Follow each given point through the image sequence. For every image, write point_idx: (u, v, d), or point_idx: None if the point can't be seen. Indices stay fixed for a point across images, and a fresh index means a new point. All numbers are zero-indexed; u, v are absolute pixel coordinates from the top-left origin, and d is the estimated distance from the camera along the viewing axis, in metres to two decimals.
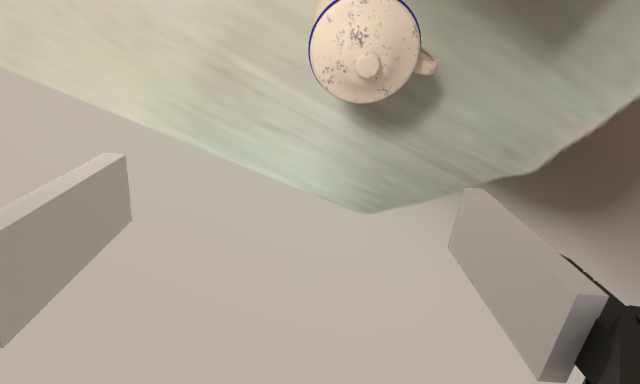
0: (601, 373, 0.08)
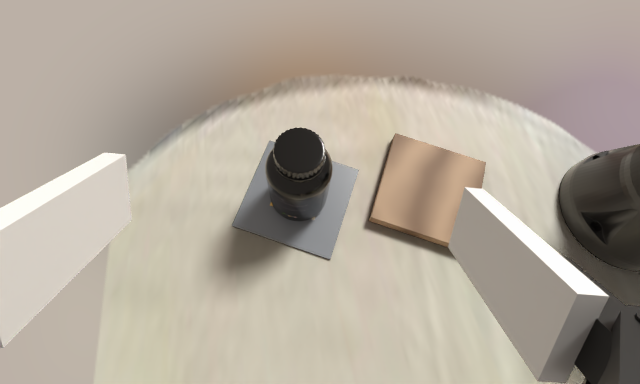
0: (601, 373, 0.08)
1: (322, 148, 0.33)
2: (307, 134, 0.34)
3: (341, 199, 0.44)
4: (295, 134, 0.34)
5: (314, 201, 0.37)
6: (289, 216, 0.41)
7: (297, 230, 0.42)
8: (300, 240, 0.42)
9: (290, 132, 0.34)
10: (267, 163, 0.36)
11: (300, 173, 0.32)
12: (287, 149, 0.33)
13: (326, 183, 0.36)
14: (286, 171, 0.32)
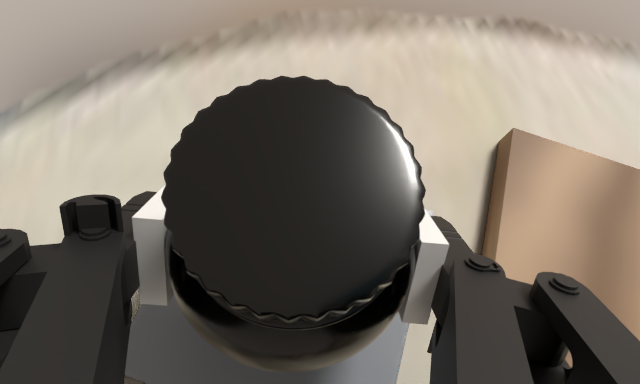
0: (446, 315, 0.09)
1: (412, 174, 0.07)
2: (336, 106, 0.07)
3: None
4: (279, 105, 0.07)
5: None
6: None
7: (286, 380, 0.16)
8: None
9: (256, 95, 0.07)
10: None
11: (301, 316, 0.06)
12: (236, 178, 0.06)
13: (400, 304, 0.09)
14: (226, 302, 0.06)
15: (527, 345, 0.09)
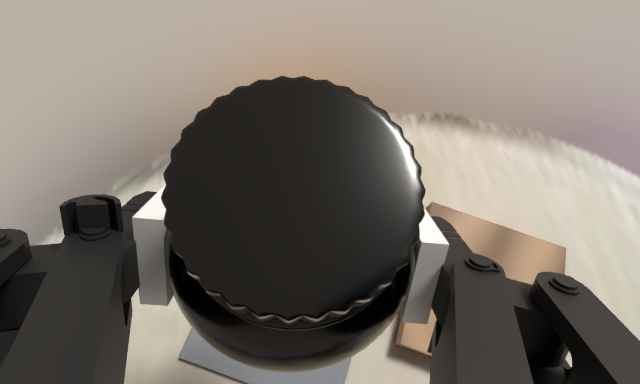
0: (446, 315, 0.09)
1: (412, 174, 0.07)
2: (336, 107, 0.07)
3: None
4: (279, 105, 0.07)
5: None
6: None
7: None
8: (289, 383, 0.26)
9: (255, 96, 0.07)
10: None
11: (301, 317, 0.06)
12: (236, 178, 0.06)
13: (400, 304, 0.09)
14: (226, 302, 0.06)
15: (527, 345, 0.09)
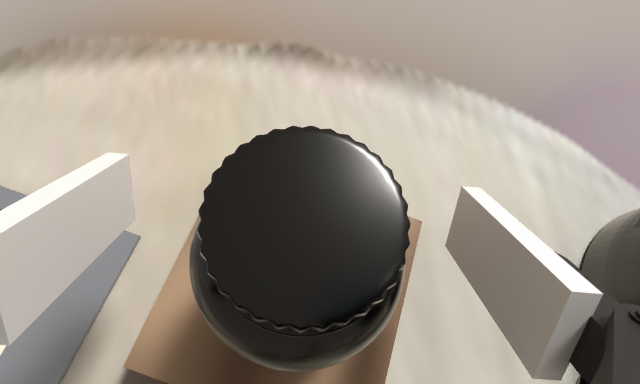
0: (595, 370, 0.08)
1: (400, 210, 0.08)
2: (338, 152, 0.09)
3: (78, 310, 0.19)
4: (291, 152, 0.09)
5: None
6: None
7: None
8: None
9: (272, 143, 0.09)
10: (195, 243, 0.11)
11: (311, 327, 0.07)
12: (257, 214, 0.08)
13: (391, 313, 0.11)
14: (251, 316, 0.07)
15: None
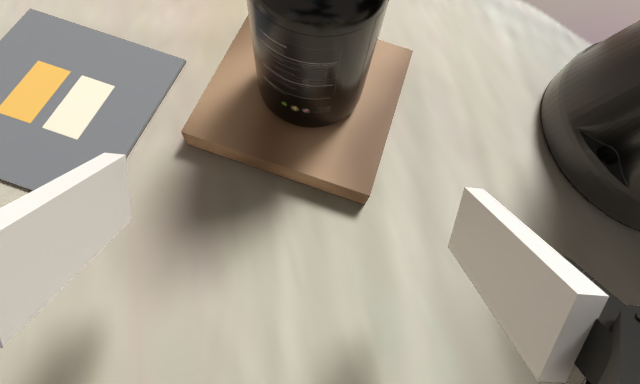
0: (601, 373, 0.08)
1: None
2: None
3: (140, 106, 0.24)
4: None
5: (350, 53, 0.17)
6: (295, 108, 0.21)
7: (37, 157, 0.22)
8: (39, 175, 0.22)
9: None
10: None
11: None
12: None
13: None
14: None
15: None
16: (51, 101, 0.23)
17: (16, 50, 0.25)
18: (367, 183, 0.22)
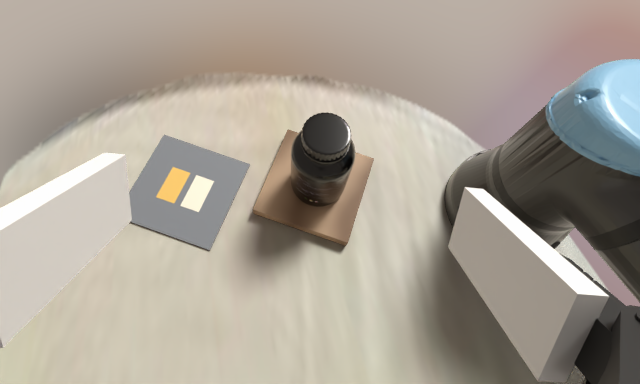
0: (601, 373, 0.08)
1: (348, 132, 0.35)
2: (333, 119, 0.35)
3: (228, 192, 0.45)
4: (322, 118, 0.35)
5: (337, 184, 0.39)
6: (310, 200, 0.42)
7: (180, 222, 0.43)
8: (182, 231, 0.43)
9: (317, 116, 0.35)
10: (294, 147, 0.37)
11: (328, 155, 0.34)
12: (315, 132, 0.35)
13: (350, 166, 0.37)
14: (315, 153, 0.34)
15: None
16: (182, 191, 0.45)
17: (160, 161, 0.46)
18: (347, 236, 0.43)
